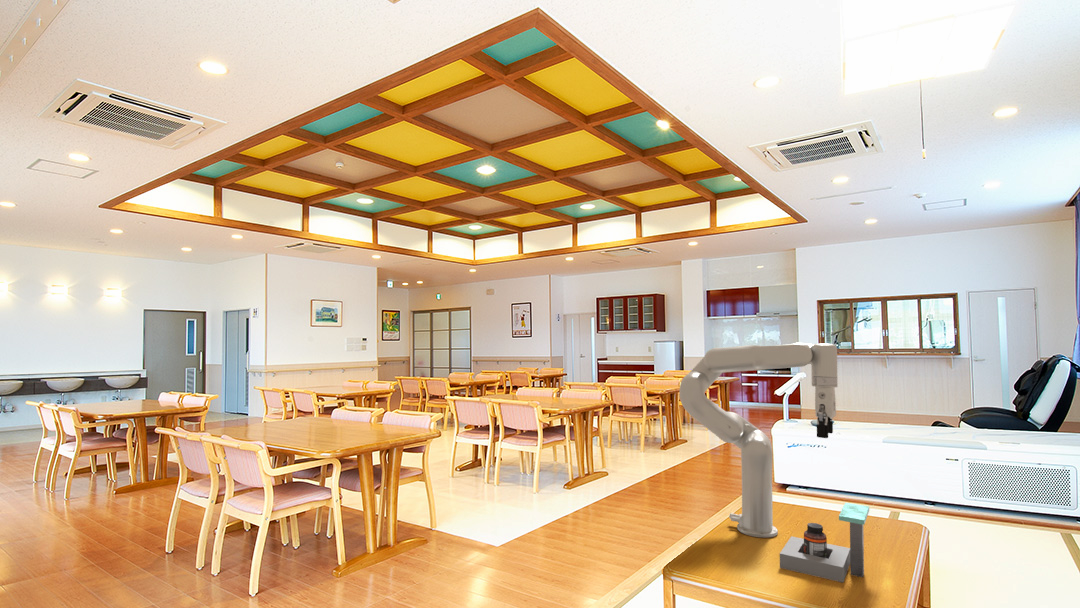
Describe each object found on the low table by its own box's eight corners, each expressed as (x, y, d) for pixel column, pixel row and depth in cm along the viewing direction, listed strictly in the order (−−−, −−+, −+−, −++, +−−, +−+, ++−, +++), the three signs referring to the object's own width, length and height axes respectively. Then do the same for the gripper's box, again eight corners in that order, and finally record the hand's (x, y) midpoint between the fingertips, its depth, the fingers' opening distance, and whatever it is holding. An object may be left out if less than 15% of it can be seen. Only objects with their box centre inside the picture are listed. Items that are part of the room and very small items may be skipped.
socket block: (779, 567, 161) (779, 553, 162) (791, 549, 175) (791, 536, 175) (843, 582, 152) (843, 567, 152) (850, 562, 166) (850, 548, 166)
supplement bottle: (802, 559, 167) (802, 520, 168) (825, 562, 165) (824, 522, 166) (805, 567, 162) (805, 527, 162) (828, 570, 160) (828, 529, 160)
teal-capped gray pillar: (839, 580, 154) (838, 515, 154) (846, 562, 165) (845, 502, 166) (865, 586, 150) (864, 520, 151) (869, 567, 162) (869, 506, 162)
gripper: (833, 384, 175) (834, 441, 175) (841, 380, 189) (841, 432, 189) (806, 383, 179) (807, 438, 179) (816, 379, 194) (816, 429, 193)
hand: (824, 435), depth 184 cm, fingers open, 9 cm apart
